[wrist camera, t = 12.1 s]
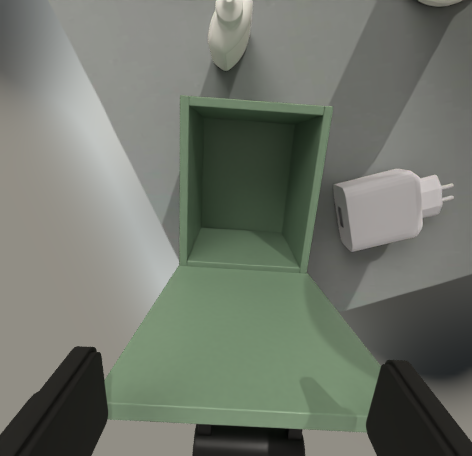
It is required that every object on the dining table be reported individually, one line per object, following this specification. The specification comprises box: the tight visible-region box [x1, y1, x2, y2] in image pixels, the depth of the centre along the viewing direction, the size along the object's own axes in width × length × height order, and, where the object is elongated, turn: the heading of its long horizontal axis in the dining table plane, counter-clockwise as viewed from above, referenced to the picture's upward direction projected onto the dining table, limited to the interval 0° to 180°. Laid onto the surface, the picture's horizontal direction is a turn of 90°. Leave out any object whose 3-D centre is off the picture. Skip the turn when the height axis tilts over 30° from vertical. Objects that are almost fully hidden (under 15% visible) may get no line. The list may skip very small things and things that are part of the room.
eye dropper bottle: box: [208, 0, 253, 71], centre depth 28 cm, size 4×6×12 cm
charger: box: [333, 169, 454, 252], centre depth 37 cm, size 5×9×15 cm
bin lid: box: [104, 266, 381, 456], centre depth 20 cm, size 18×14×5 cm
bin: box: [179, 95, 333, 274], centre depth 32 cm, size 17×14×13 cm
